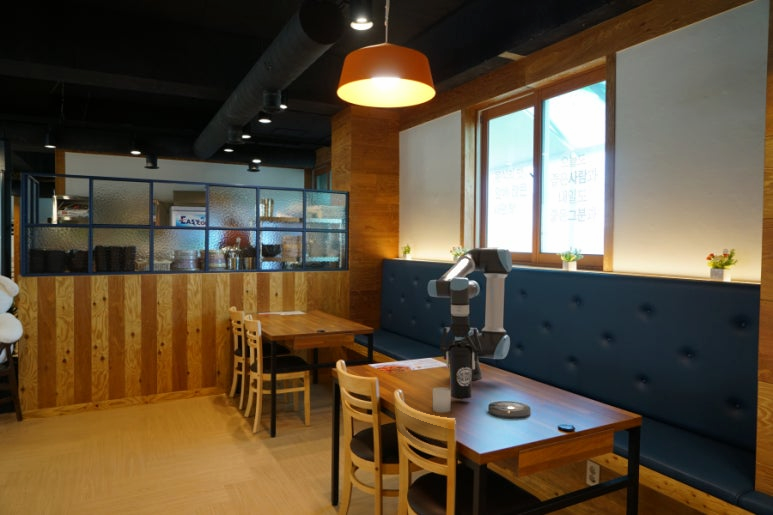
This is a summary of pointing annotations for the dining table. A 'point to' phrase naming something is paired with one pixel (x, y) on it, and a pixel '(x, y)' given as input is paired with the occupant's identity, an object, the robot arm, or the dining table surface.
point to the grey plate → (509, 409)
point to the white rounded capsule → (441, 399)
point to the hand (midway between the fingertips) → (460, 367)
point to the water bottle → (460, 369)
